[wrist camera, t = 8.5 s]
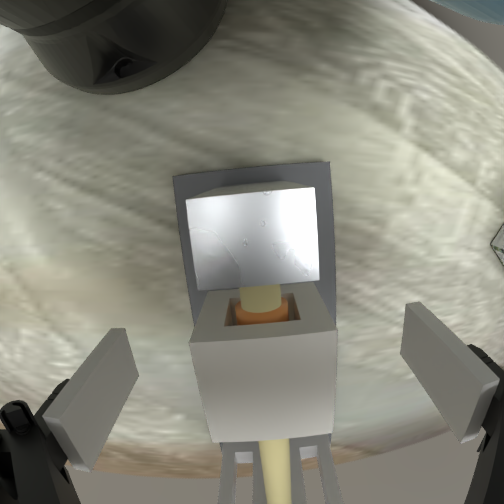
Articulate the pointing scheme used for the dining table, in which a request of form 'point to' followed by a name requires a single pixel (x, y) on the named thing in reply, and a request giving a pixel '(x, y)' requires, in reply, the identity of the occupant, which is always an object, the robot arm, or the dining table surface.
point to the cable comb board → (262, 288)
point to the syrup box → (499, 245)
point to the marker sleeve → (266, 368)
